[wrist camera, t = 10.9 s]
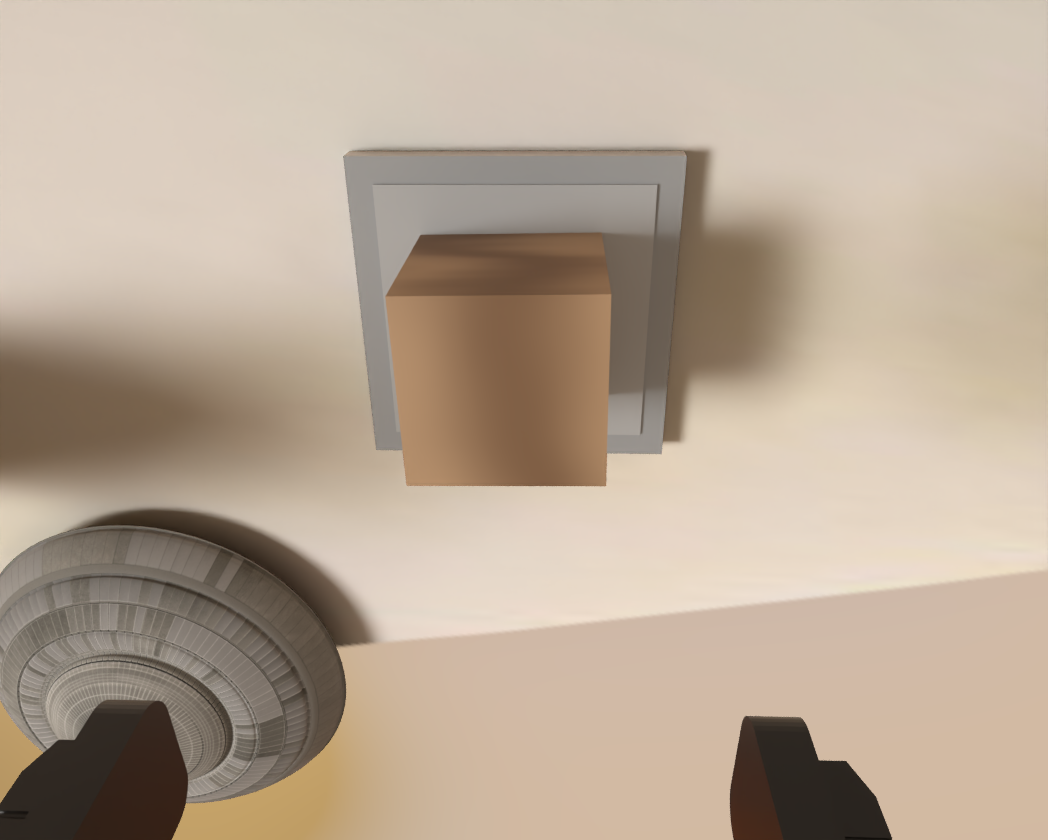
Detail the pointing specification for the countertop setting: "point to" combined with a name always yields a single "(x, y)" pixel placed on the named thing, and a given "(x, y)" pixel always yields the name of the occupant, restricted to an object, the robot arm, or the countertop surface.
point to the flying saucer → (169, 651)
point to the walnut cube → (502, 359)
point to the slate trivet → (531, 207)
